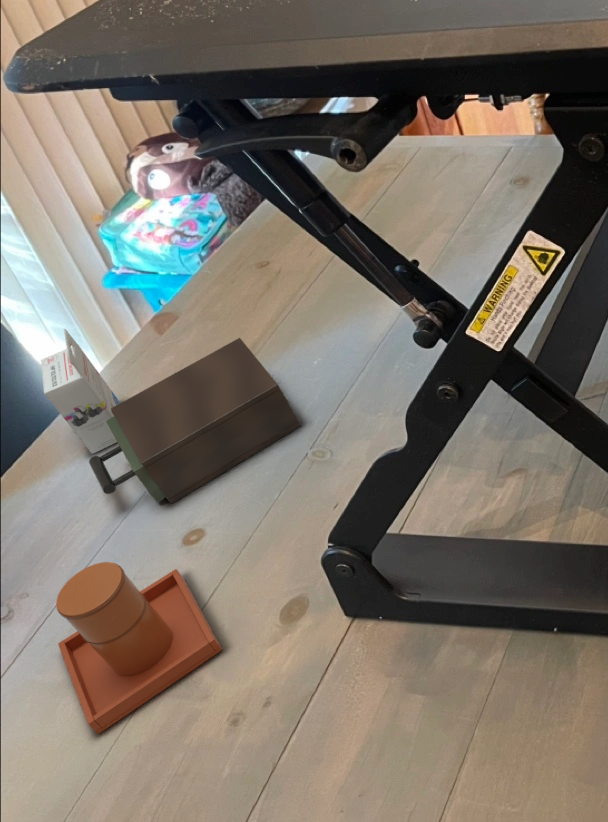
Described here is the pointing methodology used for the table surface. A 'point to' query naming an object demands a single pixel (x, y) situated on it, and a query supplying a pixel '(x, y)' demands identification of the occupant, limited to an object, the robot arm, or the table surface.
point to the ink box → (80, 395)
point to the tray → (120, 695)
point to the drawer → (137, 467)
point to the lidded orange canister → (114, 618)
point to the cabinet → (205, 419)
